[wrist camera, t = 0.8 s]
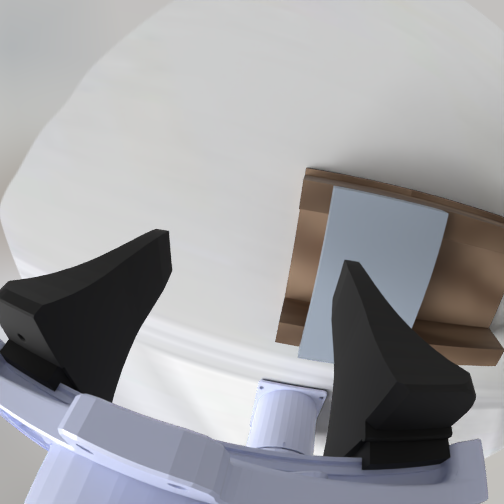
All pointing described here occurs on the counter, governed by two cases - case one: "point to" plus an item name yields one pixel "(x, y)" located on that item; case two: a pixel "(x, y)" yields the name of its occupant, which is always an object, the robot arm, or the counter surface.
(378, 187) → the brown tray
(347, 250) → the lid
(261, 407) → the robot arm
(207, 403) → the counter surface
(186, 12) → the counter surface
